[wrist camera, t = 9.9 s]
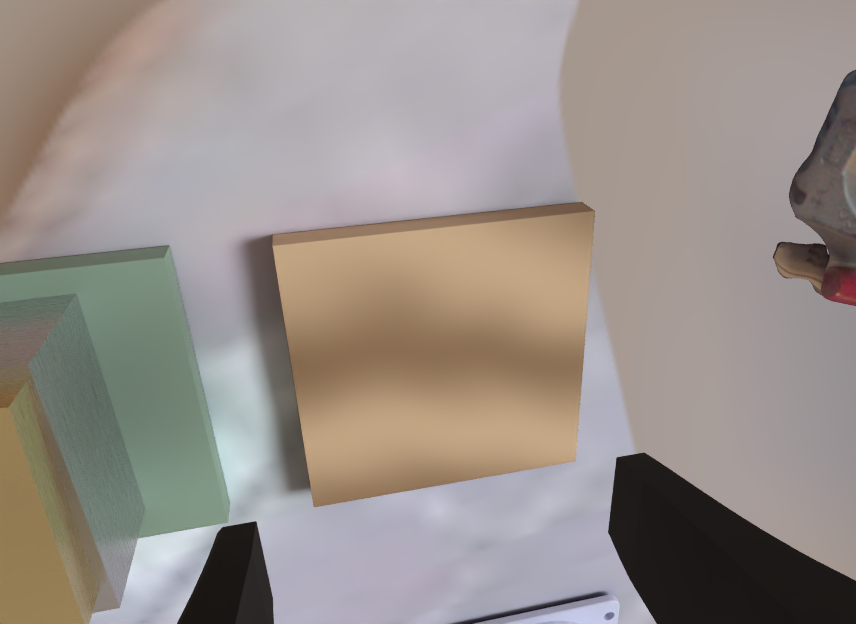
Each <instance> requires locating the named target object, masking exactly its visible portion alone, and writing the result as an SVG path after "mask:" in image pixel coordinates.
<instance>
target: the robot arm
mask: <svg viewBox="0 0 856 624" xmlns="http://www.w3.org/2000/svg"><path fill="white" fill-rule="evenodd" d="M608 533H609V535H610V537H611V540H612V542H613V544H614V546H615V549H616V551H617V553H618V555H619V558H620V560H621V562H622V564H623V566H624V568H625V570H626V572H627V574H628V576H629V579H630V580H631V582H632V584H633V585H634V587H635V589H636V590H637V592H638V594H639V595H640V597H641V598H642V600H643V602H644V603H645V605H646V607H647V608H648V610H649V612H650V613H651V615H652V616H653V618H654V620H655V621H656V623H657V624H856V581H855V580H853V579H851V578H849V577H847V576H845V575H843V574H841V573H840V572H837V571H835V570H833V569H831V568H829V567H828V566H826V565H824V564H822V563H820V562H818V561H816V560H814V559H812V558H810V557H809V556H807V555H805V554H803V553H801V552H799V551H798V550H796V549H794V548H792V547H791V546H789V545H787V544H786V543H784V542H782V541H780V540H779V539H777V538H775V537H774V536H772V535H770V534H768V533H767V532H765V531H763V530H762V529H760V528H758V527H757V526H755V525H753V524H752V523H750V522H749V521H747V520H746V519H744V518H742V517H741V516H739V515H737V514H736V513H735V512H733V511H731V510H730V509H728V508H727V507H725V506H724V505H722V504H721V503H719V502H718V501H716V500H714V499H713V498H712V497H710V496H709V495H707V494H706V493H704V492H703V491H701V490H700V489H698V488H697V487H695V486H694V485H692V484H691V483H689V482H688V481H686V480H685V479H683V478H682V477H680V476H679V475H677V474H676V473H675V472H673V471H672V470H670V469H669V468H667V467H666V466H664V465H663V464H661V463H660V462H658V461H656V460H655V459H653V458H652V457H650V456H649V455H647V454H646V453H639V454H634V455H628V456H622V457H617V459H616V468H615V477H614V486H613V494H612V503H611V512H610V521H609V530H608ZM619 606H620V605H619V602H618V600H617V598H616V597H615V596H613V595H605V596H600V597H595V598H591V599H586V600H581V601H577V602H572V603H567V604H563V605H558V606H553V607H549V608H544V609H539V610H535V611H530V612H525V613H521V614H516V615H511V616H507V617H502V618H497V619H493V620H488V621H483V622H479V623H474V624H617V621H618V614H619ZM177 624H274V618H273V597H272V592H271V588H270V583H269V578H268V574H267V569H266V564H265V560H264V555H263V550H262V546H261V541H260V536H259V532H258V527H257V522H256V521H255V522H250V523H244V524H238V525H233V526H227V527H222V529H221V530H220V531H219V532H218V533H217V536H216V538H215V541H214V544H213V547H212V549H211V552H210V554H209V557H208V559H207V561H206V564H205V566H204V568H203V571H202V573H201V575H200V577H199V580H198V582H197V584H196V586H195V588H194V591H193V593H192V595H191V597H190V599H189V601H188V603H187V605H186V607H185V609H184V611H183V613H182V615H181V617H180V619H179V621H178V623H177Z"/></svg>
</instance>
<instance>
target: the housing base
mask: <svg viewBox="0 0 856 624" xmlns="http://www.w3.org/2000/svg"><path fill="white" fill-rule="evenodd" d="M23 378H28V379H29V382H30V385H31V388H32V391H33V394H34V397H35V400H36V403H37V406H38V410H39V413H40V416H41V419H42V422H43V425H44V428H45V431H46V434H47V437H48V440H49V444H50V447H51V450H52V453H53V456H54V459H55V462H56V465H57V468H58V471H59V474H60V478H61V481H62V484H63V487H64V490H65V493H66V496H67V499H68V502H69V505H70V508H71V512H72V515H73V518H74V521H75V524H76V527H77V530H78V533H79V536H80V539H81V542H82V546H83V549H84V552H85V555H86V558H87V561H88V564H89V567H90V570H91V573H92V576H93V580H94V583H95V586H96V589H97V592H98V596H97V599H96V603H95V606H94V609H93V613H95V612H100V611H106V610H111V609H116V608H120V605H121V601H122V597H123V593H124V589H125V586H126V582H127V578H128V574H129V570H130V566H131V562H132V559H133V555H134V551H135V547H136V543H137V539H138V536H139V532H140V528H141V524H142V520H143V516H144V513H145V505H144V502H143V499H142V496H141V493H140V490H139V487H138V483H137V480H136V477H135V474H134V471H133V468H132V465H131V462H130V458H129V455H128V452H127V449H126V446H125V443H124V440H123V437H122V433H121V430H120V427H119V424H118V421H117V418H116V415H115V412H114V408H113V405H112V402H111V399H110V396H109V393H108V390H107V387H106V383H105V380H104V377H103V374H102V371H101V368H100V365H99V361H98V358H97V355H96V352H95V349H94V346H93V343H92V340H91V336H90V333H89V330H88V327H87V324H86V321H85V318H84V315H83V311H82V308H81V305H80V302H79V299H78V296H77V294H68V295H60V296H51V297H43V298H34V299H26V300H17V301H9V302H0V381H3V380H13V379H23Z"/></svg>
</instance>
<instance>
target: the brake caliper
mask: <svg viewBox="0 0 856 624" xmlns="http://www.w3.org/2000/svg"><path fill="white" fill-rule="evenodd" d="M789 199H790V204H791V207H792V209H793V211H794V213H795V217H796V218H798V219H800V220H801V221H803V222H804V223H806V224H807V225H808V226H810V227H811V228H812V229H813V230H815V231H816V232H817V233H818V234H819V235H820V237H821V238H822V239H823V241H824V242H825V244H826V245H824V244H819V243H818V244H817V243H813V244H797V243H792V242H779V243H778V244H777V247H776V250H775V253H774V255H773V259H774V261H775V264H776V266H777V269H778V272H779V273H780V274H781V275H782V276H783V277H784V278H802V279H807V280H809V281H810V282H811V283H812V285H813V287H814V289H815V291H816V292H817V293H819V294H820V295H822V296H824V298H826V299H828V300H831V301H834V302H839V303H844V304H848V305H854V306H856V70H854V71H852V72H850V73H849V74H848V75H847V76H846V77H845V78H844V80H843V82H842V84H841V86H840V88H839V90H838V92H837V95H836V97H835V99H834V101H833V104H832V106H831V108H830V110H829V112H828V115H827V117H826V120H825V122H824V124H823V126H822V128H821V130H820V132H819V134H818V136H817V139H816V142H815V145H814V148H813V150H812V152H811V154H810V155H809V157H808V158H807V159H806V160H805V161H804V162H803V164H802V165H801V167H800V168H799V169H798V171H797V172H796V174H795V176H794V178H793V181H792V184H791V187H790V192H789ZM826 246H827V247H826ZM827 248H828V251H829V254H828V253H827Z"/></svg>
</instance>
